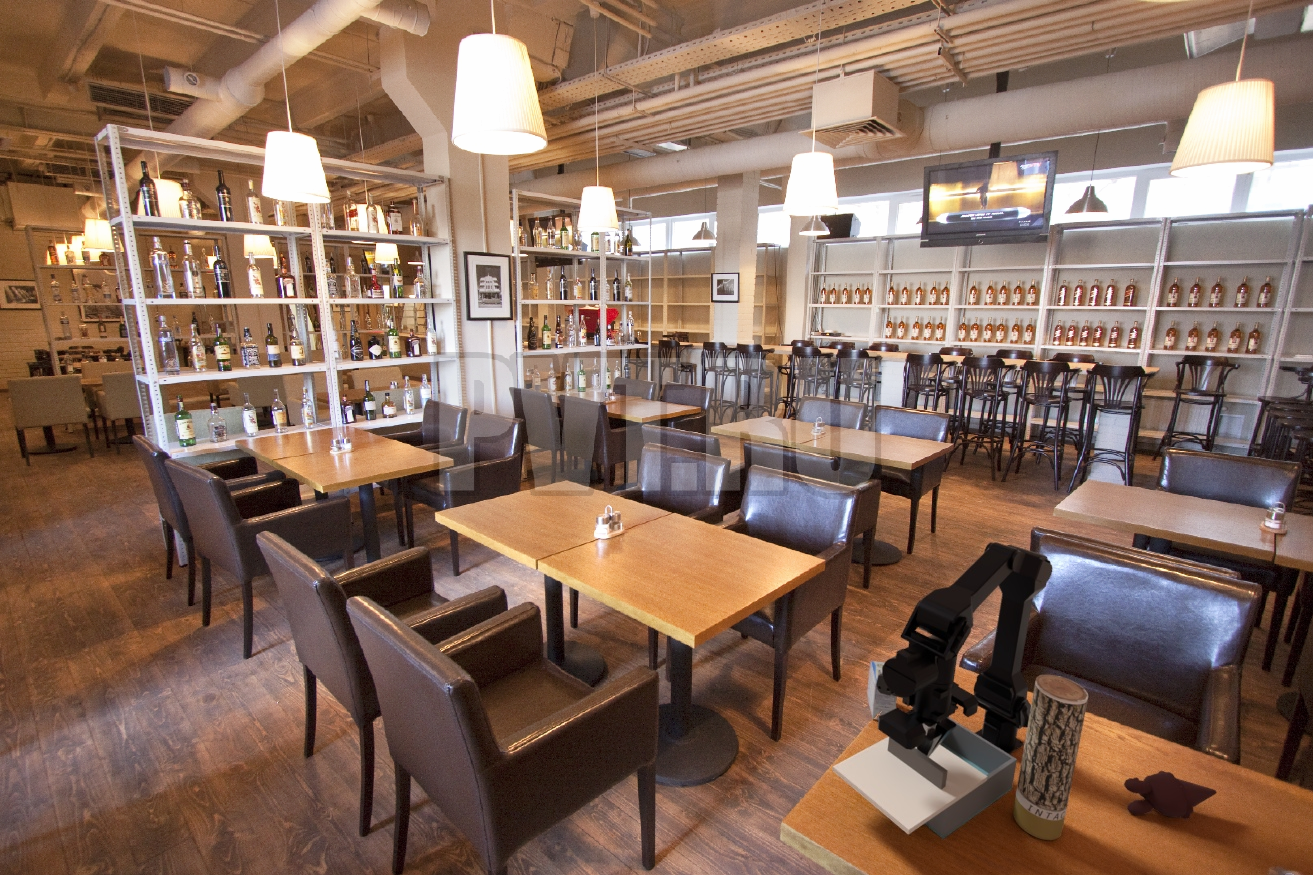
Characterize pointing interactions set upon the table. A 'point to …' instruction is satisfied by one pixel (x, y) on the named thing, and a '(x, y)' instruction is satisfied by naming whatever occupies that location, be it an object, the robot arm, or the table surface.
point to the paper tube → (1049, 755)
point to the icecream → (1166, 795)
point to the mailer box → (998, 784)
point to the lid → (909, 781)
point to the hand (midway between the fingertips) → (923, 757)
